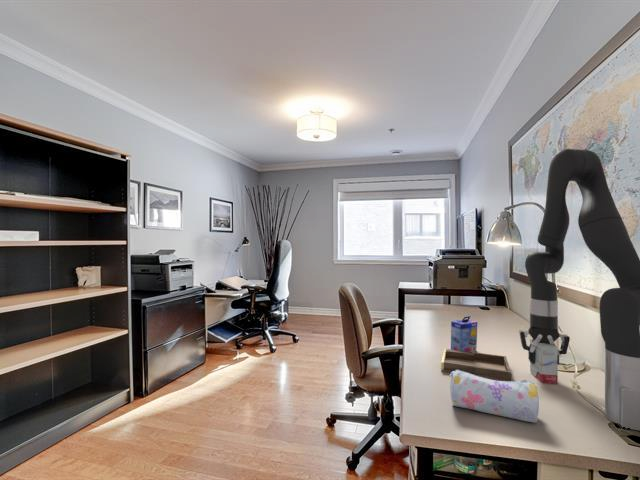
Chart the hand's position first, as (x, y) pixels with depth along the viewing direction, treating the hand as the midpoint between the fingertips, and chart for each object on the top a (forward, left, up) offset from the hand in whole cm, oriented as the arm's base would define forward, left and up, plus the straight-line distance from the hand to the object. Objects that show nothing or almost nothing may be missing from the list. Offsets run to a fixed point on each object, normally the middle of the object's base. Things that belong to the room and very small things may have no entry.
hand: (543, 364), depth 107 cm
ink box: (0, 0, -5) cm, 5 cm away
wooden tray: (0, +20, -4) cm, 21 cm away
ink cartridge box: (+18, +24, -5) cm, 30 cm away
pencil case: (-31, +17, -5) cm, 36 cm away
